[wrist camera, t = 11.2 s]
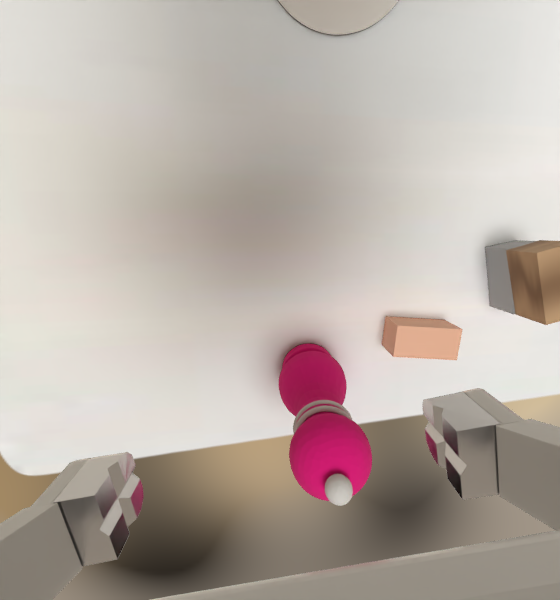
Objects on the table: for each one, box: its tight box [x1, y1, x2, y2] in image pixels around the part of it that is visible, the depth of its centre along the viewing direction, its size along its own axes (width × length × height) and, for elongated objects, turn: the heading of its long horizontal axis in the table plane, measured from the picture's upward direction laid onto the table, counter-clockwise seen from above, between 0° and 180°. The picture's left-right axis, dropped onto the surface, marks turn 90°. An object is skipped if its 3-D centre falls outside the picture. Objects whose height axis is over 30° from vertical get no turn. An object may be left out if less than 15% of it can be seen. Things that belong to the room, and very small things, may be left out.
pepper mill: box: [279, 344, 372, 505], centre depth 30 cm, size 7×7×20 cm
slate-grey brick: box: [485, 240, 536, 314], centre depth 36 cm, size 7×4×4 cm, turn 12°
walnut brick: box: [506, 240, 560, 325], centre depth 32 cm, size 7×4×4 cm, turn 17°
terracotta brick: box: [382, 316, 462, 360], centre depth 37 cm, size 7×4×4 cm, turn 86°
